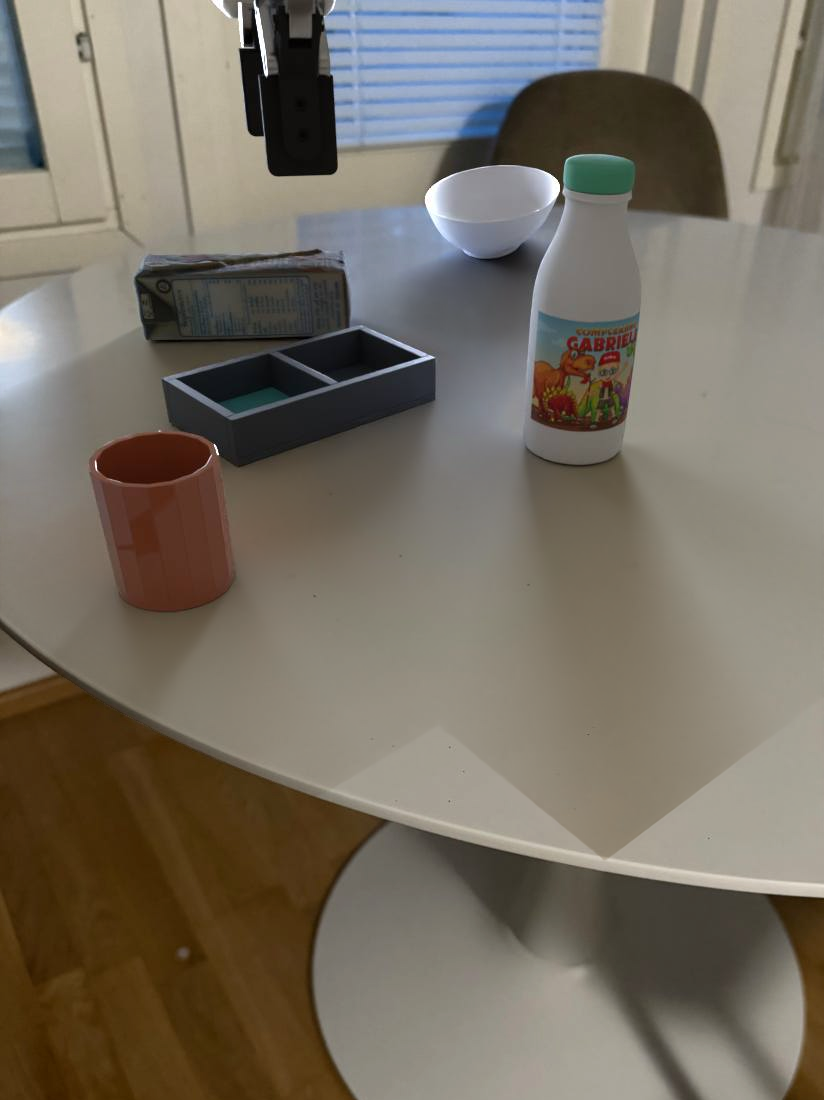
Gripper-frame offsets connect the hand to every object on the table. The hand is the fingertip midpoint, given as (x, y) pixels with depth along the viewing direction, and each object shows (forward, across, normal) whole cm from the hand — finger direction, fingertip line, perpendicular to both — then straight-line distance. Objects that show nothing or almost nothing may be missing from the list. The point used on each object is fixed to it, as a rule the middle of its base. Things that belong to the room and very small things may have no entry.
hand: (289, 153), depth 48 cm
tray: (+22, -20, +2) cm, 30 cm away
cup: (+22, +3, -9) cm, 24 cm away
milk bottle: (+23, -9, +21) cm, 32 cm away
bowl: (+23, -64, +31) cm, 74 cm away
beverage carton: (+23, -40, 0) cm, 46 cm away
